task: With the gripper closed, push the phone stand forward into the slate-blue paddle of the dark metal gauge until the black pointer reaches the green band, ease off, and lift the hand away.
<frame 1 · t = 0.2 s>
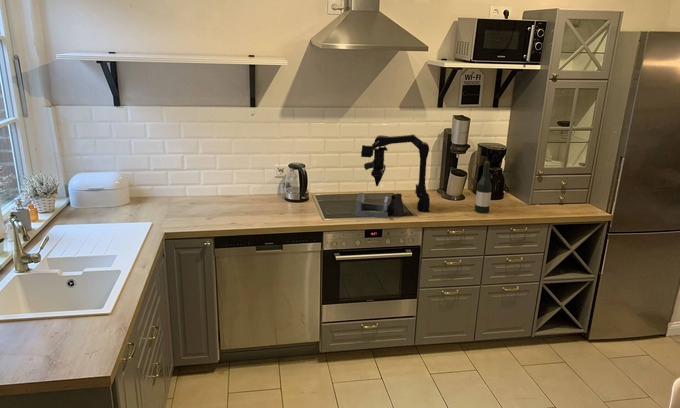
hand: (377, 184, 300), 14 cm above the countertop, tool pointing down, fingers open, 9 cm apart
wine bottle: (481, 211, 303), on the countertop
gauge frame: (374, 212, 295), on the countertop
phone stand: (395, 214, 293), on the countertop
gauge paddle: (385, 207, 290), point 5 cm above the countertop, slide at 0.0 cm
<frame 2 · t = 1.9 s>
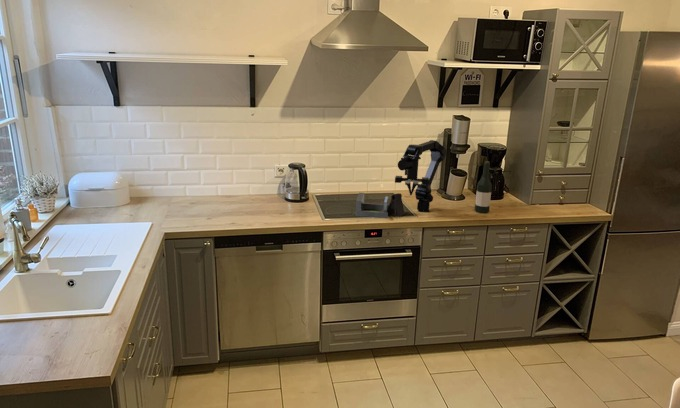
hand: (410, 194, 288), 12 cm above the countertop, tool pointing down, fingers closed
nothing on the countertop moved.
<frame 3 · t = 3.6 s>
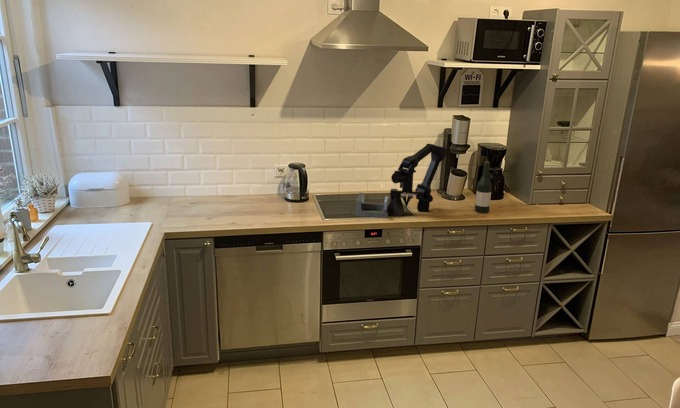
hand: (406, 207, 291), 4 cm above the countertop, tool pointing down, fingers closed
phone stand: (395, 214, 293), on the countertop, touching gripper
everything else where it was.
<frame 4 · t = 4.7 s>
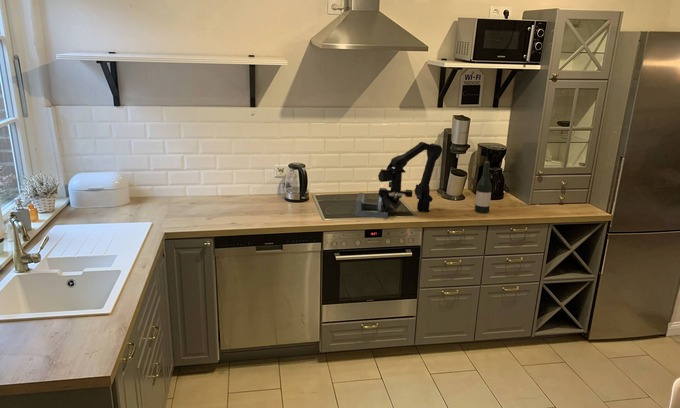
hand: (394, 207, 292), 4 cm above the countertop, tool pointing down, fingers closed, pressing on phone stand
phone stand: (393, 208, 293), point 3 cm above the countertop, touching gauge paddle, gripper
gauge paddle: (379, 207, 290), point 5 cm above the countertop, slide at 3.2 cm, touching phone stand
everything else where it was.
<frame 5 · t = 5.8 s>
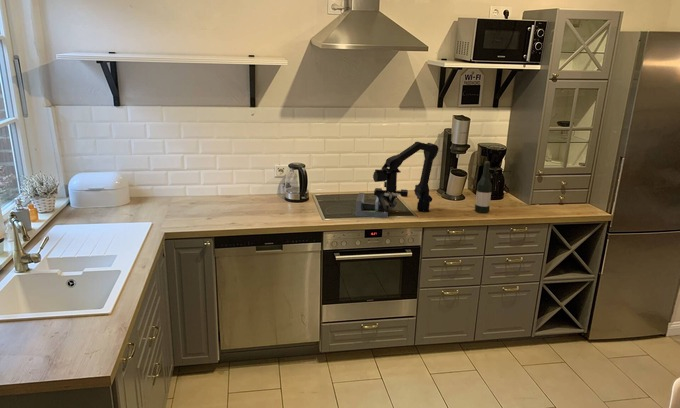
hand: (390, 206, 292), 4 cm above the countertop, tool pointing down, fingers closed, pressing on phone stand
phone stand: (390, 208, 294), point 3 cm above the countertop, touching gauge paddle, gripper
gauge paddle: (376, 206, 290), point 5 cm above the countertop, slide at 4.8 cm, touching phone stand
everything else where it was.
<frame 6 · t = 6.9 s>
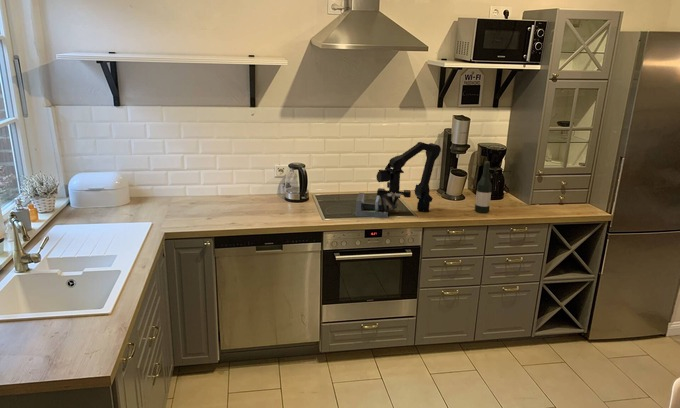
hand: (393, 207, 292), 4 cm above the countertop, tool pointing down, fingers closed
phone stand: (390, 209, 294), point 2 cm above the countertop, touching gripper
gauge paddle: (376, 206, 290), point 5 cm above the countertop, slide at 4.9 cm
everything else where it was.
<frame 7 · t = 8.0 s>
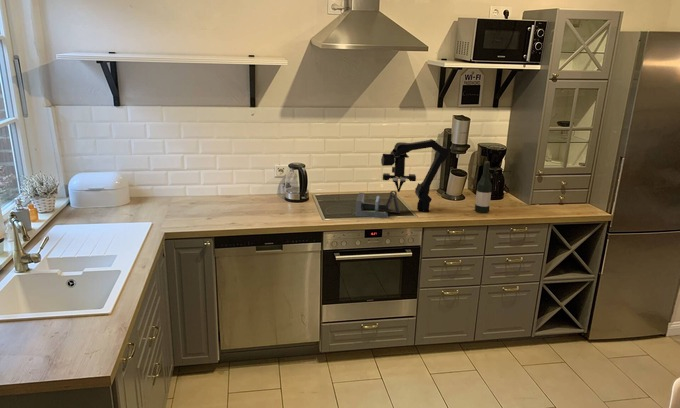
hand: (398, 191, 295), 12 cm above the countertop, tool pointing down, fingers closed
phone stand: (391, 212, 295), point 1 cm above the countertop
everything else where it was.
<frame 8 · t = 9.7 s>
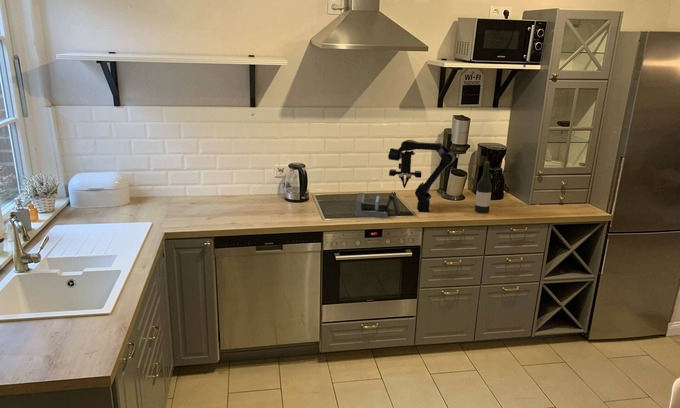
hand: (404, 187, 303), 12 cm above the countertop, tool pointing down, fingers closed
at the end: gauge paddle slide at 4.9 cm; phone stand tilted 0°; the gripper is holding nothing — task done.
